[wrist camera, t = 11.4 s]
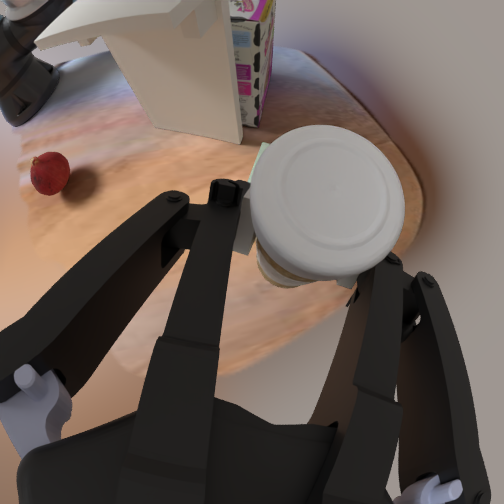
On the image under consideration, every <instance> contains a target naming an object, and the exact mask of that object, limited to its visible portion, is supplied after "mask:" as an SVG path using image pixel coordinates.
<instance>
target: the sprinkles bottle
mask: <svg viewBox="0 0 504 504" xmlns="http://www.w3.org/2000/svg"><path fill="white" fill-rule="evenodd" d="M250 208H251V217H252V223H253V227H254V231H255V233H256V236H257V237H256V247H257V264H258V268H259V270H260V272H261V273H262V275H263V277H264V278H265V279H266V280H267V281H269V282H270V283H271V284H273V285H275V286H277V287H281V288H295V287H298V286H300V285H305V284H309V283H313V282H316V281H330V280H337V279H342V278H346V277H350V276H353V275H356V274H359V273H362V272H364V271H366V270H368V269H370V268H372V267H373V266H375V265H376V264H378V263H379V262H380V261H382V260H383V259H384V258H385V257H386V256H387V255H388V254H389V252H390V251H391V250H392V248H393V247H394V245H395V244H396V242H397V240H398V238H399V236H400V233H401V230H402V227H403V223H404V217H405V201H404V194H403V190H402V186H401V183H400V180H399V178H398V175H397V173H396V171H395V170H394V168H393V166H392V165H391V163H390V162H389V160H388V159H387V158H386V156H385V155H384V154H383V153H382V152H381V151H380V150H379V149H378V148H377V147H376V146H375V145H374V144H372V143H371V142H370V141H368V140H367V139H365V138H364V137H362V136H360V135H359V134H356V133H354V132H352V131H350V130H347V129H344V128H341V127H336V126H331V125H310V126H304V127H300V128H297V129H294V130H291V131H289V132H287V133H285V134H283V135H282V136H280V137H278V138H277V139H276V140H274V141H273V142H272V143H271V144H270V145H269V146H268V147H267V148H266V149H265V151H264V152H263V153H262V155H261V156H260V158H259V160H258V162H257V164H256V166H255V168H254V172H253V175H252V178H251V185H250Z"/></svg>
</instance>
